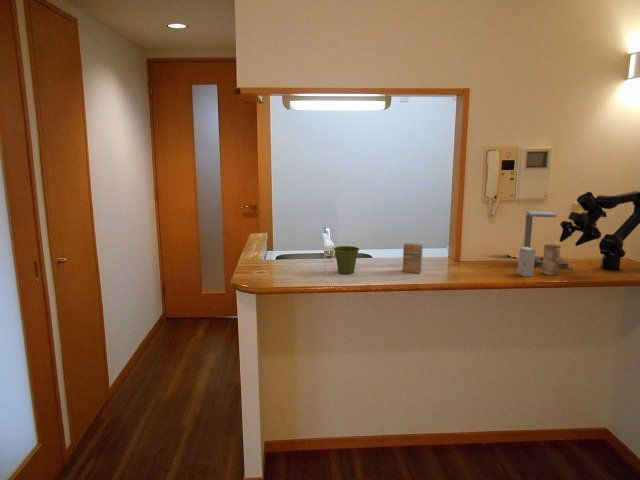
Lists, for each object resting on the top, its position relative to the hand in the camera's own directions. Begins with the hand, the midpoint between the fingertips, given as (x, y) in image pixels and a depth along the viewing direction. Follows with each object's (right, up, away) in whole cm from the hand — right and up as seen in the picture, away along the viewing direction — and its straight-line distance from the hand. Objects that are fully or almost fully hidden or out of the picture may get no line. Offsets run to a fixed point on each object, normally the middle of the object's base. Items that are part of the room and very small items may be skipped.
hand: (567, 243), depth 203 cm
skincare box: (-20, -14, -1) cm, 24 cm away
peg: (-8, -14, 0) cm, 16 cm away
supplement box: (-69, -13, +5) cm, 70 cm away
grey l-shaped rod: (-6, -10, +18) cm, 22 cm away
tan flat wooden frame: (0, -10, +17) cm, 20 cm away
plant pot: (-99, -14, +5) cm, 100 cm away
